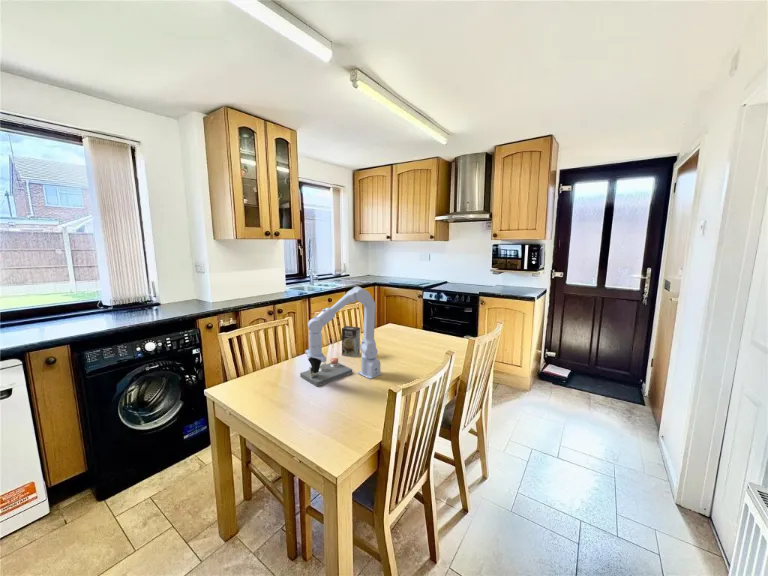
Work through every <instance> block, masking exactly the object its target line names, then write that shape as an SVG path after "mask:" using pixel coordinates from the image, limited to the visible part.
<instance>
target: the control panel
mask: <svg viewBox="0 0 768 576" xmlns="http://www.w3.org/2000/svg"><path fill="white" fill-rule="evenodd" d="M318 373H319V375H318V376H315V377H310V376H308V374H309V369H308V370H305V371H303V372H300V373H299V374H300V375H299V377H300V378H301V379H302V380H305V381H306V382H308V383H310V384H312V385H313V386H315V387H316V388H317V387H319V386H322V385H323V386H324V385H325V384H326V383H330V382H333V381H335V380H338V379H341V378H343V377H346V376H348V375H351V374H353V368H350V367H349V366H346V365H345V364H342V363H340V362H338V364H331V362H330V363H326V368H323V369H320V368H319V372H318Z"/></svg>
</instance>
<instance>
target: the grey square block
mask: <svg viewBox="0 0 768 576" xmlns="http://www.w3.org/2000/svg"><path fill="white" fill-rule="evenodd" d="M308 370H309V374H308V376H310V377H315V376H318V375H319V373H318V372H317V373H313V370H312V366H309V368H308Z"/></svg>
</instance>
